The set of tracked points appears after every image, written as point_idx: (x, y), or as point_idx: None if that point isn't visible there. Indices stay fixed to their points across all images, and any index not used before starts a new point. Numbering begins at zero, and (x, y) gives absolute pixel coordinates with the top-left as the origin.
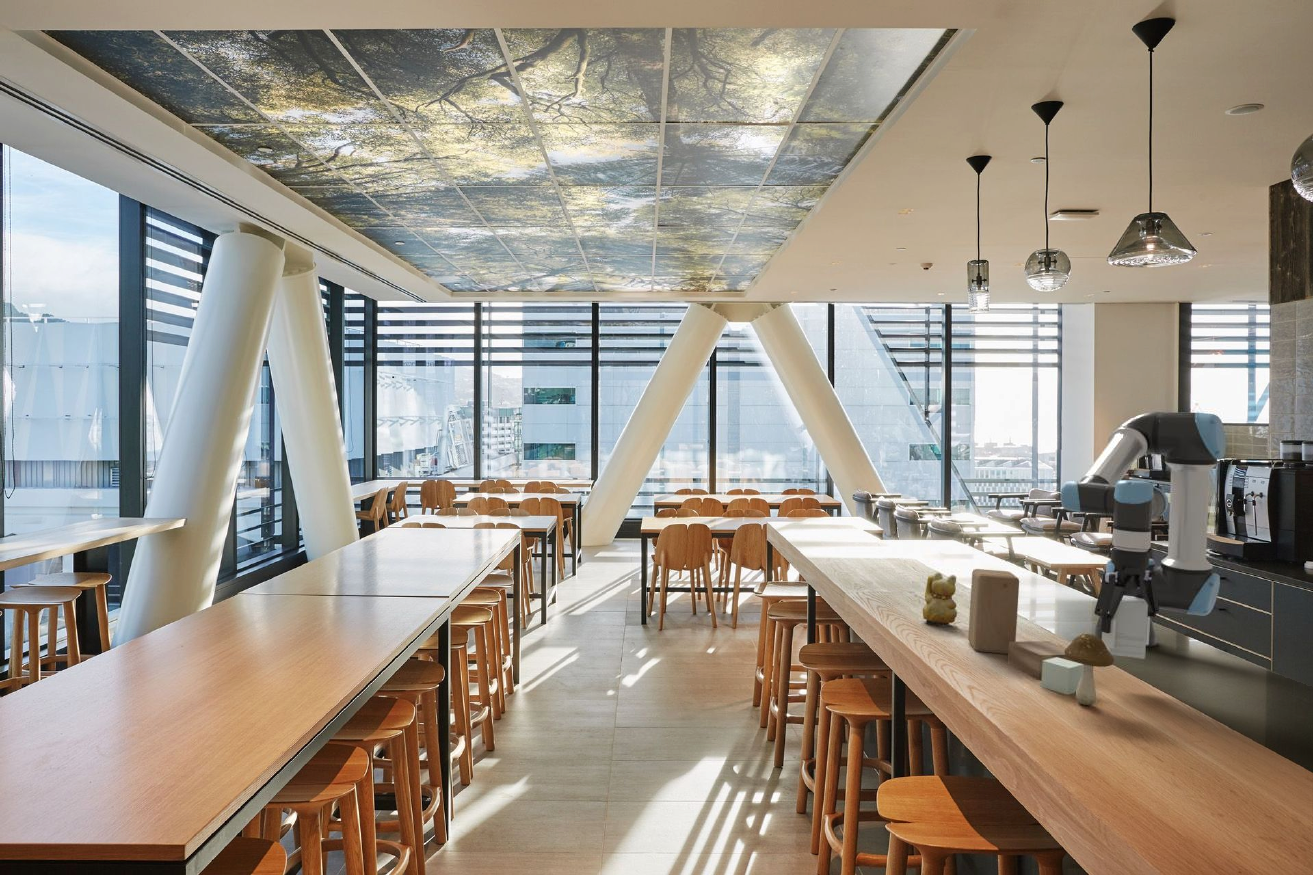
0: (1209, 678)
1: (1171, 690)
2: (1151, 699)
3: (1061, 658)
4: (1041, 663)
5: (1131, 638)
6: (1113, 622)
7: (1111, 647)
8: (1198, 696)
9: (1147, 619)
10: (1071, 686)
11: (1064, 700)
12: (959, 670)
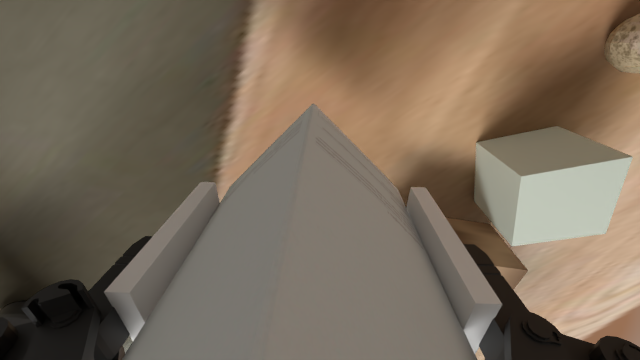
0: (3, 129)
1: (202, 78)
2: (346, 25)
3: (514, 234)
4: (506, 251)
5: (361, 178)
6: (487, 287)
7: (426, 191)
8: (153, 7)
9: (142, 277)
10: (553, 136)
11: (629, 90)
12: (589, 295)
